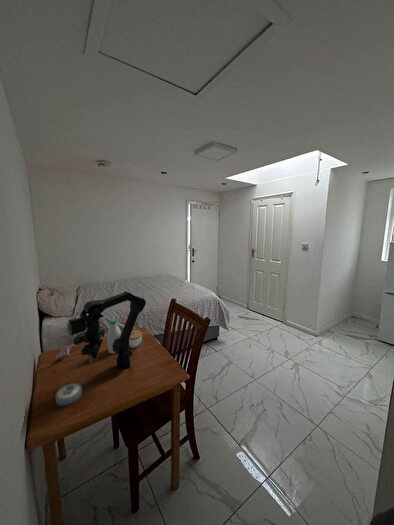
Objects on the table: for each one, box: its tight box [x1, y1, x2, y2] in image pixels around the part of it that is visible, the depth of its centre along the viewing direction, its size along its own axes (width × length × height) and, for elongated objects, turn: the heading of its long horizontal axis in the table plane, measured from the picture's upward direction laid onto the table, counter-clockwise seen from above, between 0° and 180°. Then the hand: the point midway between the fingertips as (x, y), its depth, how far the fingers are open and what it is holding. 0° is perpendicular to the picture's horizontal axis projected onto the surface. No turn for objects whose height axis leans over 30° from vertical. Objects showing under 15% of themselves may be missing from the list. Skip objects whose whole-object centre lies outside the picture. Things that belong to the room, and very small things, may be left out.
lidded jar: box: [129, 329, 143, 349], centre depth 136 cm, size 11×11×9 cm
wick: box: [88, 352, 100, 364], centre depth 103 cm, size 4×1×7 cm, turn 101°
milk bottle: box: [106, 318, 122, 354], centre depth 129 cm, size 8×8×20 cm
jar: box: [55, 382, 83, 407], centre depth 94 cm, size 10×10×4 cm
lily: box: [55, 342, 76, 361], centre depth 121 cm, size 12×12×10 cm
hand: (95, 357), depth 103 cm, fingers closed on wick, 1 cm apart
